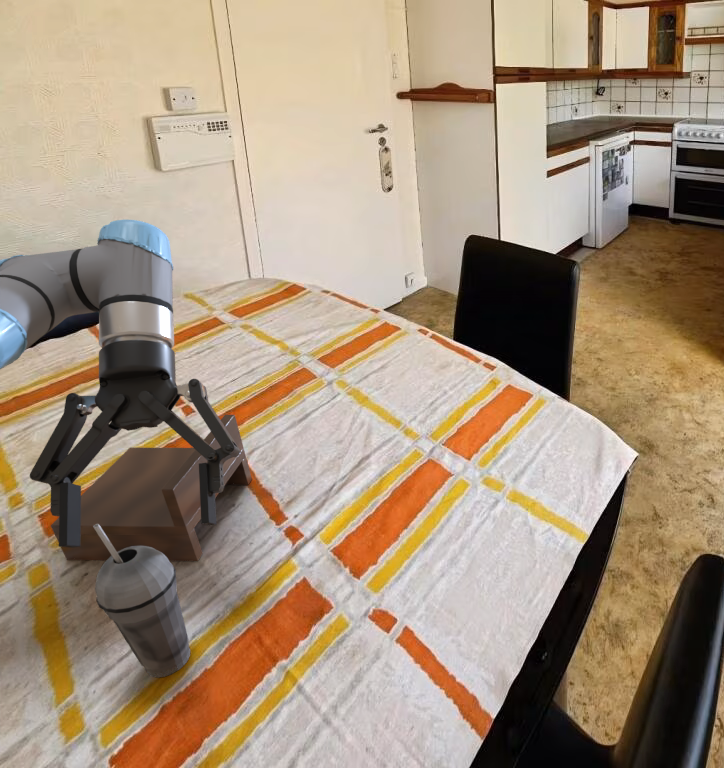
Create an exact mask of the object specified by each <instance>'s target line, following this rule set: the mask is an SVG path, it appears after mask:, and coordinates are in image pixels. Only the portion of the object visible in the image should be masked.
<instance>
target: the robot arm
mask: <svg viewBox="0 0 724 768" xmlns="http://www.w3.org/2000/svg"><path fill="white" fill-rule="evenodd" d="M96 242H97V243H96V244H97V245H93V246H92V245H91V246H85V247H81V248H77V249H76V248H75V249H68V250H59V251H53V252H44V253H36V254H24V255H23V254H17V255H12V256H11V257H8V258H3V259H0V370H2V369H4V368H6V367H7V366H10V365H12V364H13V363H15V362H16V361H17V360H18V359H20V357H21V356H22V354H24V352H25V351H27V350H28V348H30V347H31V346H33V345H34V343H36V342H37V341H38V340H39V339H41V338H43V337H44V336H46V335H47V334H48V333H49V332H50V331H52V330H53V329H55V327H57V326H58V325H60V324H61V323H62V322H63V321H64V320H66V319H67V318H69V317H73V316H77V315H78V316H79V315H85V314H86V315H87V314H92V313H98V345H99V347H100V348H101V349H99V351H98V383H99V389H98V391H97V393H96V395H80V394H78V393H76V392H70V393H68V394H67V395H66V396H65V401H64V402H65V403H64V409H63V414H62V415H61V417H60V418H59V421H58V422H57V424H56V426H55V428H54V430H53V432H52V433H51V435H50V437H49V438H48V441H47V442H46V444H45V446H44V448H43V449H42V451H41V453H40V455H39V457H38V459H37V460H36V461H35V463H34V466H33V468H32V469H31V471H30V473H29V478H30V480H32V481H34V482H39V483H42V484H48V485H49V487H50V508H49V509H50V510H49V511H50V513H51V516H54V517H58V518H59V542H58V547H60V548H61V547H69V548H75V547H80V534H81V495H82V485H80V484H74V483H75V481H77V479H78V478H79V477H80V475H81V474H82V473H83V472H84V471H85V470H86V468H87V467H88V466H89V465H90V463H92V461H93V460H94V459H95V458H96V456H97V455H98V454H99V453H100V452H101V451H102V449H104V448H105V446H106V445H107V443H109V441H110V440H112V438H113V437H116V436H117V435H118V434H119V433H120V432H121V431H122V430H125V431H128V432H129V431H136V430H139V429H141V428H148V429H151V428H158V426H160V425H161V424H162V423H163V422H164V423H165V424H166V425H168V426H169V427H170V428H171V429H172V430H173V431H174V432H175V433H176V434H177V435H179V436H180V437H181V438H182V439H183V440H184V441H185V442H187V444H189V445H190V446H191V448H194V449H196V450H197V451H198V452H199V453H200V454H201V455H202V456H203V457H204V458H206V460H207V461H208V463H200V464H199V481H200V504H201V519H200V523H201V525H205V526H217V509H216V508H217V506H216V504H217V503H216V498H215V493H219V494H220V493H223V492H224V489H225V485H224V476H223V464H224V462H225V461H226V460H228V459H230V458H232V457H237V456H238V455H239V454H240V449H239V448H238V446H237V445H236V443H235V442H234V440H233V439H232V437H231V435H230V434H229V432H228V431H227V429H226V428H225V426H224V425H223V423H222V422H221V419H220V417H219V416H218V414H217V412H216V410H214V407H213V406H212V405H211V403H210V401H209V396H208V391H207V387H206V386H205V384H203V383H202V382H201V381H200V380H199V379H198V378H192V379H191V378H190V379H189V381H188V383H184V384H180V385H179V384H178V385H177V383H176V381H177V380H176V379H177V378H176V377H177V373H176V372H177V371H176V353H175V351H174V347H175V319H174V317H175V316H174V308H173V306H174V304H173V298H174V297H173V271H174V264H173V261H172V260H173V259H172V252H171V251H172V250H171V242H170V239H169V238H168V236H167V234H166V233H165V232H164V231H163V230H161V228H159V227H157V226H156V225H153V224H152V223H149V222H146V221H143V220H137V219H117V220H113V221H110V222H109V223H108V224H105V225H103V226H102V227H101V228H100V230H99V234H98V237H97V241H96ZM181 397H183V398H184V399H185V400H186V401H187V402H189V403H192V405H193V406H194V408H195V409H196V411H197V413H198V414H199V415H200V417H201V418H202V420H203V422H204V423H205V425H206V426H207V428H208V429H209V430H210V431H209V432H212V434H213V435H214V437H215V438H216V440H217V441H218V443H219V445H220V446H221V448H219V449H217V450H215V449H214V448H213V447H212V446H210V445H209V444H208V443H207V442H206V441H205V440H204V439H205V438H203V437H202V436H200V435H199V434H198V433H197V432H196V431H195V430H194V429H193V428H192V427H191V426H190V425H188V424H187V423H186V422H185V421H184V420H183V419H182V418H181V417H180V416H179V415H177V414H176V413H175V412H174V411H173V409H174V407H175V406H176V404H177V403H178V401H179V400H180V398H181ZM95 408H98V410H100V411H101V412H100V413H99V415H97V416H96V417H95V419H94V420H93V421H92V423H91V427H90V428H89V430H88V431H87V432H86V433H85V434H84V435H83V437H82V438H81V439H80V440H79V441H78V443H77V444H75V443H76V441H77V439H78V437H79V435H80V433H81V431H82V430H83V428H84V426H85V424H86V423H87V422H86V421H87V418H88V416H90V415H92V414H93V410H94V409H95ZM74 444H75V446H74ZM73 446H74V447H73Z"/></svg>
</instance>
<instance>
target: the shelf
mask: <svg viewBox="0 0 724 768" xmlns="http://www.w3.org/2000/svg"><path fill="white" fill-rule="evenodd" d="M220 420H221V422H222V423H223V425H224V426H225V428H226V429H227V431H228V432H229V434H230V435H231V437H232V439H233V440H234V442H235V443H236V445H237V446H238V448H239V449H240V454H239V455H238V456H237V457H232V458H230V459H228V460H226V461H225V462H224V464H223V476H224V486H249V484H251V482H252V480H253V478H252V474H251V469H250V466H249V463H248V459H247V456H246V452H245V451H246V450H245V447H244V444H243V439H242V436H241V433H240V429H239V426H238V422H237V417H236V414H224V415H223V417H222V418H221V419H220ZM203 439H204V440H205V441H206V442H207V443H208V444H209V445H210V446H212V447H213V448H214V449H215V450H217V449H219V448H221V446H220V445H219V443H218V441H217V440H216V438H215V437H214V435H213V434H212V432H211V431H209V433H208V434H207V435H206V436H205V438H203ZM200 463H208V461H207V460H206V458H204V457H203V456H202V455H201V454H200V453H199V452H198V451H197V450H196V449H194V448H193V447H129V448H128V449H127V450H126V451H125V452H124V453H123V454H122V455H121V456H120V457H119V458H118V459H117V460H116V461H115V462H114V463H113V464H111V466H110V467H109V468H108V469H106V471H104V472H103V473H102V474H101V475H100V476H99V477H98V479H96V480H95V481H94V482H93V483H92V484H91V485H90V486H89V487H88V488H87V489H86V490H85V491H84V492H83V493H81V534H80V547H75V548H69V547H60V549H61V551H62V553H63V556H64V557H65V559H66V560H67V561H106V560H107V559H108V558H109V557H111V556H112V555H111V553H110V552H109V550H108V549H107V547H106V546H105V544H104V543H103V541H102V540H101V538H100V537H99V535H98V534H97V532H96V530H95V529H94V525H96V524H99V525H100V527H101V528H102V530H103V531H104V533H105V534H106V536H107V537H108V539H109V540H110V542H111V544H112V545H113V547H114V548H115V550H116V551H117V552H118V551H120V550H122V549H124V548H128V547H131V546H147V547H152V548H154V549H156V550H158V551H160V552H162V553H163V554H164V555H165V556H166V557H167V558H168V560H169V561H170V562H199V560H200V559H201V557H202V556H203V554H204V552H203V550H202V547H201V543H200V541H199V538H198V535H197V532H196V529H195V527H196V526H197V525H198V523H199V522H200V521H201V504H200V481H199V464H200ZM219 494H220V493H215V499H216V498H217V497H218V495H219ZM50 528H51V530H52V532H53V534H54V536H55V538H56V541H57V542H58V543H59V517H58V518H57V519H56V520H55V521H53V522H52V523H51V525H50Z"/></svg>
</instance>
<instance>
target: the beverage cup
mask: <svg viewBox="0 0 724 768" xmlns="http://www.w3.org/2000/svg"><path fill="white" fill-rule="evenodd" d="M94 529H95V530H96V532H97V534H98V535H99V537H100V538H101V540H102V541H103V543H104V544H105V546H106V547H107V549H108V550H109V552H110V553H111V555H112V556H111V557H109V558H108V559H107V560H104V562H103V563H102V565H101V567H100V568H99V570H98V571H97V574H96V579H95V585H94V586H95V587H94V591H95V595H96V597H95V598H96V603H97V605H98V608H99V609H100V610H103V612H104V613H105V615H107V616H106V617H108V618H109V619H110V620H112V622H113V623H114V624H115V626H116V628H117V629H118V631H119V633H120V635H122V637H123V638H124V640H125V642H126V643H127V645H128V646H129V648H130V649H131V651H132V653H133V655H134V656H135V657H136V660H137V661H138V662H139V664H140V666H141V667H143V669H144V670H145V671H146V673H147V675H149V676H150V677H153V678H164V677H168V676H170V675H173V674H174V673H176V672H177V671H180V669H182V668H183V667H184V666H185V665H186V663H188V661H189V658H190V656H191V648H190V643H189V637H188V631H187V628H186V624H185V619H184V615H183V611H182V607H181V603H180V599H179V595H178V590H177V589H178V587H177V584H178V583H177V569H176V568H175V566H174V565H173V563H171V562H172V561H169V560H168V558H167V557H166V556H165V555H164V554H163V553H162V552H160V551H158V550H156V549H154V548H152V547H147V546H131V547H128V548H124V549H122V550H120V551H118V552H117V551H116V550H115V548H114V547H113V545H112V544H111V542H110V540H109V539H108V537H107V536H106V534H105V533H104V531H103V530H102V528H101V527H100V525H99V524H96V525H94Z"/></svg>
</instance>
